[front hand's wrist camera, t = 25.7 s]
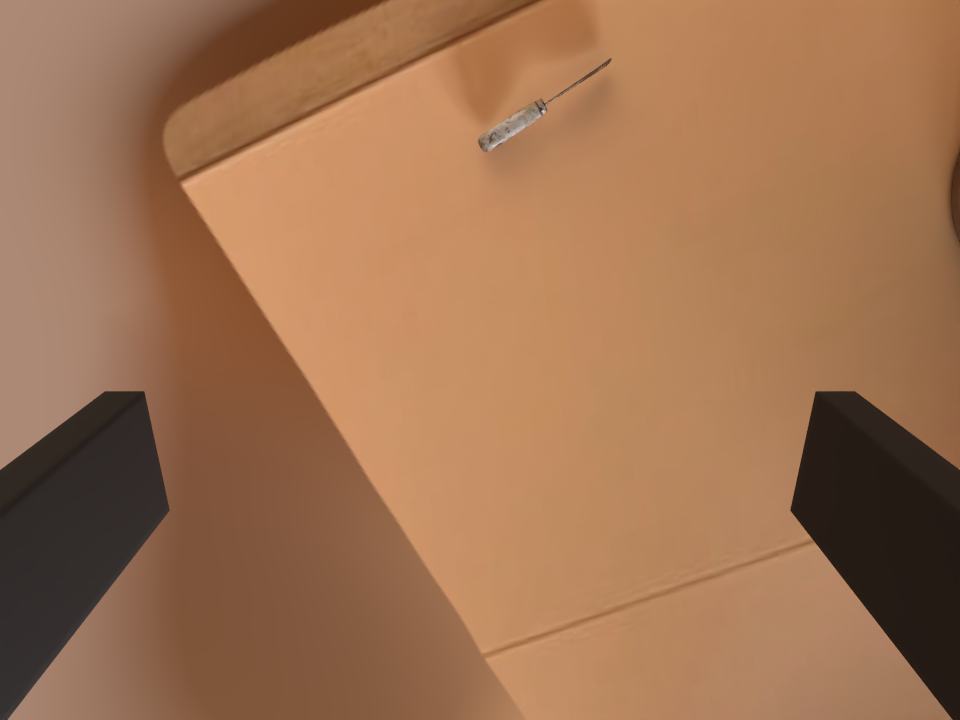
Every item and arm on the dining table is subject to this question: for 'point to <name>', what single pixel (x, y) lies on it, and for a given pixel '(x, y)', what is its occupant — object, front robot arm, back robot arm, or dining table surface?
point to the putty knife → (521, 119)
